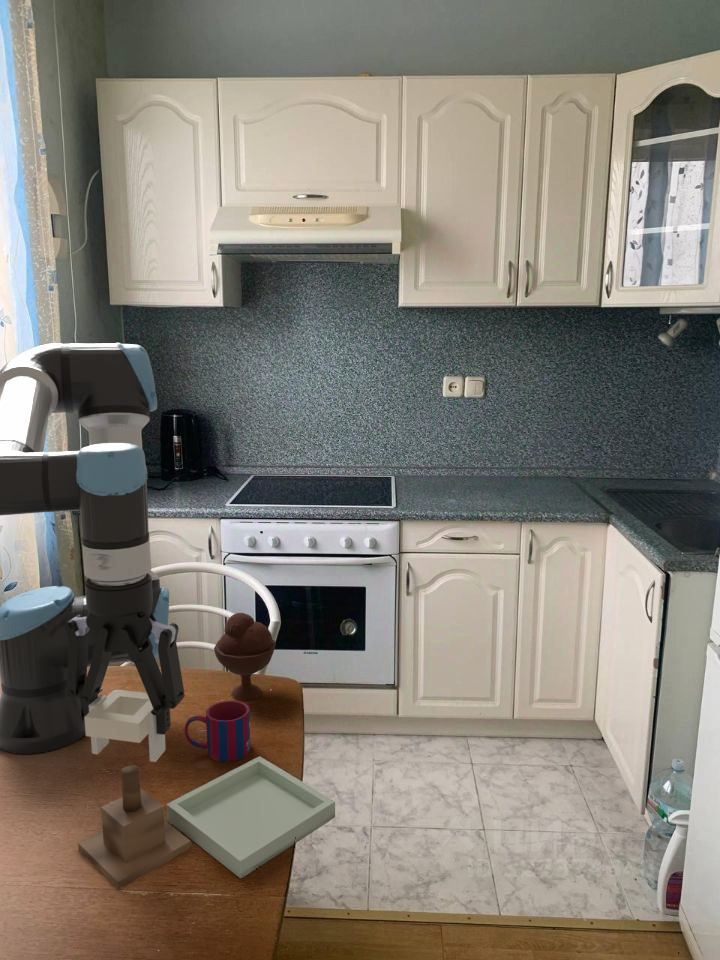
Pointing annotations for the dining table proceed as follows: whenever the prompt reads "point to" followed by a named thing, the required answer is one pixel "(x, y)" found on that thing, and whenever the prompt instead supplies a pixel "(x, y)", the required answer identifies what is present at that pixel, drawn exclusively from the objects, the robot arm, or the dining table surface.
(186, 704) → the dining table surface
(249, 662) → the ice cream bowl
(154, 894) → the dining table surface
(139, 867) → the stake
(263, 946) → the dining table surface
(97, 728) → the ring
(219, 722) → the mug
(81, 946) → the dining table surface
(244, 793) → the tray
